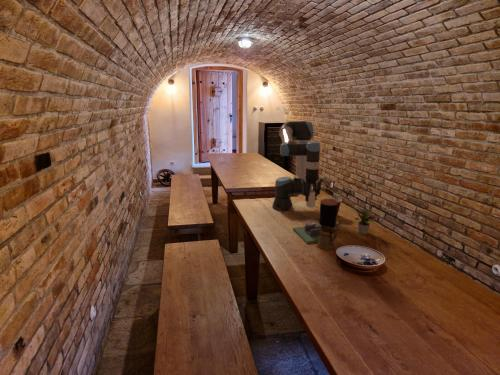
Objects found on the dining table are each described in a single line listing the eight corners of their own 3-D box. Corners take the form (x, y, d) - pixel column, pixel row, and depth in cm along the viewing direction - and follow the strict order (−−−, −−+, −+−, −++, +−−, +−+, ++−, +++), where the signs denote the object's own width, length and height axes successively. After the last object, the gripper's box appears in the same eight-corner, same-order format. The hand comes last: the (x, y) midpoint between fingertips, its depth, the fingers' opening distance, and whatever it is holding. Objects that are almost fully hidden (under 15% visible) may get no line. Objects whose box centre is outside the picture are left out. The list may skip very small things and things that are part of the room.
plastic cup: (332, 211, 232) (333, 196, 229) (343, 215, 224) (345, 199, 221) (321, 214, 226) (322, 198, 223) (333, 219, 218) (334, 203, 215)
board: (292, 230, 201) (293, 222, 199) (315, 227, 205) (315, 219, 204) (307, 243, 182) (307, 235, 181) (331, 240, 187) (332, 231, 185)
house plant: (356, 238, 188) (358, 213, 184) (345, 229, 202) (348, 205, 197) (378, 237, 191) (381, 211, 186) (366, 227, 204) (369, 204, 199)
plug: (306, 205, 195) (306, 189, 192) (310, 204, 195) (311, 189, 193) (309, 207, 190) (310, 191, 188) (314, 207, 191) (315, 191, 188)
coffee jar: (334, 224, 209) (336, 199, 204) (336, 231, 199) (339, 204, 194) (317, 224, 210) (319, 198, 205) (319, 230, 200) (321, 204, 195)
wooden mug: (334, 254, 170) (337, 223, 165) (313, 246, 180) (315, 216, 175) (343, 248, 176) (345, 219, 171) (322, 241, 186) (324, 212, 181)
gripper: (302, 170, 180) (301, 209, 186) (327, 168, 185) (325, 206, 191) (297, 168, 187) (295, 205, 193) (321, 166, 192) (319, 203, 198)
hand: (310, 206), depth 192 cm, fingers closed on plug, 3 cm apart
